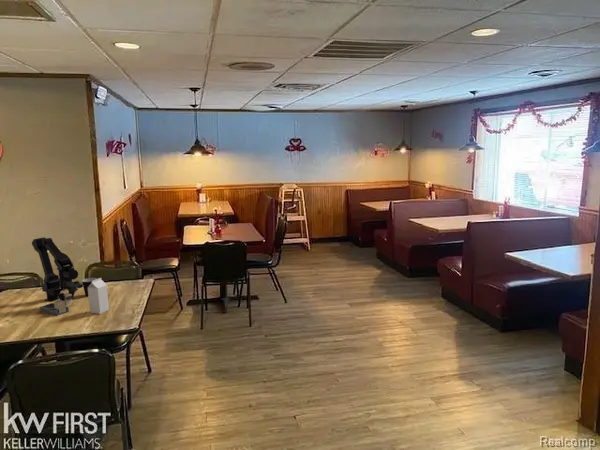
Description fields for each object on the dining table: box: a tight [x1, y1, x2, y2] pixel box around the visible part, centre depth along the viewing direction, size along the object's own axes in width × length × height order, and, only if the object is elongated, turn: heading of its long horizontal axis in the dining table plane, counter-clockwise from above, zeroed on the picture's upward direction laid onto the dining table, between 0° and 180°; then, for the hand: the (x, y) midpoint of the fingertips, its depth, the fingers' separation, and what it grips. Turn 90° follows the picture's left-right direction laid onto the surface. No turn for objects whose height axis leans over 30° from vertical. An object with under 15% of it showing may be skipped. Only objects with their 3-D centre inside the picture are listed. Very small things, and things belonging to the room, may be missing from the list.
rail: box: [39, 299, 70, 317], centre depth 263 cm, size 16×7×7 cm, turn 60°
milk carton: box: [88, 277, 110, 315], centre depth 260 cm, size 7×7×19 cm
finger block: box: [63, 292, 74, 306], centre depth 276 cm, size 5×4×6 cm
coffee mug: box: [81, 277, 97, 298], centre depth 294 cm, size 12×9×10 cm
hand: (67, 302), depth 277 cm, fingers open, 5 cm apart
